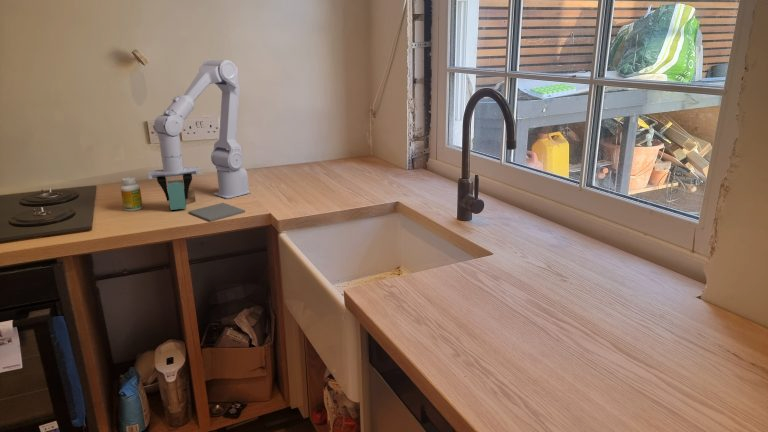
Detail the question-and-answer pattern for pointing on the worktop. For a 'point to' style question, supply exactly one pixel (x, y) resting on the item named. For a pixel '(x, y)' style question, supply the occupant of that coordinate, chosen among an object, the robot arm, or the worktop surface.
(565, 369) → the worktop surface
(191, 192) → the walnut block
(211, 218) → the slate mat
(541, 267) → the worktop surface
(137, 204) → the supplement bottle
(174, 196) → the teal block
